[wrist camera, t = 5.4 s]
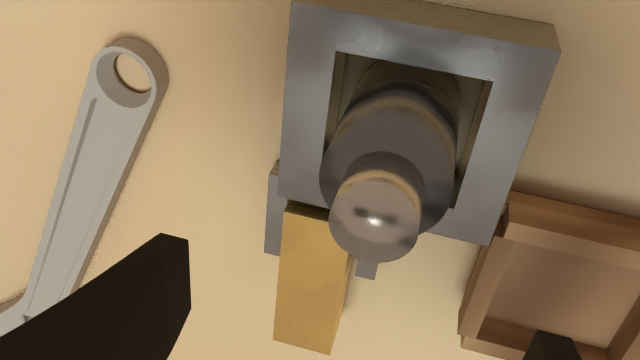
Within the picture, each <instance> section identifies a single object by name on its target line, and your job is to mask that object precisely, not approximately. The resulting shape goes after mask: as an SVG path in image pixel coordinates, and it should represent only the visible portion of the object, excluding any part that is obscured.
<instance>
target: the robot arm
mask: <svg viewBox="0 0 640 360" xmlns="http://www.w3.org/2000/svg"><path fill="white" fill-rule="evenodd" d="M190 310H191V292H190V269H189V246H188V240H187V239H183V238H179V237H175V236H171V235H167V234H163V233H160V234H158V235H156V236H155V237H154V238H152V239H151V240H149V241H148V242H146V243H145V244H143V245H142V246H140V247H139V248H138V249H136V250H135V251H133V252H132V253H130V254H129V255H128V256H126V257H125V258H123V259H122V260H121V261H119V262H118V263H116V264H115V265H113V266H112V267H110V268H109V269H108V270H106V271H105V272H103V273H102V274H100V275H99V276H97V277H96V278H94V279H93V280H91V281H90V282H88V283H87V284H85V285H84V286H82V287H81V288H79V289H78V290H76V291H75V292H73V293H72V294H70V295H69V296H67V297H66V298H64V299H63V300H61V301H59V302H58V303H56V304H55V305H53V306H51V307H50V308H48V309H46V310H45V311H43V312H41V313H40V314H38V315H36V316H35V317H33V318H31V319H30V320H28V321H27V322H25V323H23V324H22V325H20V326H18V327H16V328H15V329H13V330H11V331H9V332H8V333H6V334H4V335H2V336H1V337H0V360H167V358H168V356H169V355H170V353H171V351H172V349H173V347H174V345H175V343H176V341H177V338H178V336H179V334H180V332H181V330H182V328H183V325H184V323H185V321H186V319H187V317H188V314H189V312H190ZM522 360H582V358H581V356H580V354H579V352H578V349H577V347H576V345H575V343H574V342H573V340H572V339H571V338H570V337H566V336H562V335H558V334H554V333H550V332H546V331H542V330H538V329H537V331H536V333H535V335H534V337H533V339H532V341H531V343H530V345H529V347H528V349H527V351H526V353H525V355H524V357H523V359H522Z"/></svg>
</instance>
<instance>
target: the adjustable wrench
mask: <svg viewBox="0 0 640 360" xmlns="http://www.w3.org/2000/svg"><path fill="white" fill-rule="evenodd" d="M121 53H125V54H127V55H129V56H132V57H133V58H134V59H136V60H137V61H138V62H139V63H140V64H141V65H142V66H143V67H144V69H145V70H146V71H147V74H148V76H149V78H150V81H151V89H150V90H149V91H147V92H146V93H137V92H135V91H132V90H130V89H129V88H128V87H126V86H125V85H124V84H123V83H122V82H121V80H120V79H119V78H118V76H117V73H116V71H115V66H114V61H115V58H116V57H117V56H118V55H119V54H121ZM168 81H169V79H168V71H167V68H166V66H165V63H164V61H163V59H162V58H161V57H160V55H159V54H158V53H157V51H156V50H155V49H153V48H152V47H151V46H150V45H148V44H147V43H145V42H143V41H141V40H139V39H136V38H128V37H126V38H121V39H117V40H116V41H114V42H113V43H111V44H109V45H108V46H106V47H105V48H103V49H102V50H100V51H99V52H98V53H96V55H95V57H94V59H93V61H92V63H91V67H90V70H89V74H88V77H87V80H86V84H85V87H84V91H83V94H82V98H81V101H80V105H79V108H78V112H77V115H76V118H75V122H74V125H73V129H72V132H71V136H70V139H69V143H68V146H67V150H66V153H65V157H64V160H63V163H62V167H61V170H60V174H59V177H58V181H57V184H56V188H55V191H54V195H53V198H52V202H51V205H50V208H49V212H48V215H47V219H46V222H45V226H44V229H43V233H42V236H41V240H40V243H39V246H38V250H37V253H36V257H35V260H34V264H33V267H32V271H31V274H30V278H29V281H28V285H27V288H26V291H25V293H23V294H22V295H20V296H18V297H17V298H15V299H13V300H11V301H8V302H6V303H3V304H1V305H0V337H1V336H2V335H4V334H6V333H8V332H9V331H11V330H13V329H15V328H16V327H18V326H20V325H22V324H23V323H25V322H27V321H28V320H30V319H31V318H33V317H35V316H36V315H38V314H40V313H41V312H43V311H45V310H46V309H48V308H50V307H51V306H53V305H55V304H56V303H58V302H59V301H61V300H63V299H64V298H66V297H67V296H69V295H70V294H72V293H73V292H75V291H76V290H78V288H79V285H80V283H81V281H82V279H83V276H84V274H85V272H86V270H87V268H88V265H89V263H90V261H91V259H92V256H93V254H94V252H95V250H96V247H97V245H98V243H99V241H100V238H101V236H102V234H103V232H104V229H105V227H106V225H107V223H108V220H109V218H110V216H111V214H112V211H113V209H114V207H115V205H116V202H117V200H118V198H119V196H120V193H121V191H122V189H123V187H124V184H125V182H126V180H127V178H128V175H129V173H130V171H131V169H132V166H133V164H134V162H135V160H136V157H137V155H138V153H139V151H140V148H141V146H142V144H143V142H144V139H145V137H146V135H147V133H148V130H149V128H150V126H151V124H152V121H153V119H154V117H155V115H156V112H157V110H158V108H159V106H160V103H161V101H162V99H163V97H164V94H165V92H166V90H167V86H168Z"/></svg>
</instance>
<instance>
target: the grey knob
mask: <svg viewBox="0 0 640 360" xmlns="http://www.w3.org/2000/svg"><path fill="white" fill-rule="evenodd" d="M460 107H461V99H460V93H459V89H458V86H457V84H456V82H455V80H454V78H453V77H452V75H451V74H450V73H447V72H442V71H437V70H432V69H427V68H421V67H416V66H411V65H406V64H401V63H396V62H391V61H386V60H379V61H377V62H376V63H374V64H373V65H372V66H370V67H369V68H368V69H367V70H366V72H365V73H364V74H363V76H362V77H361V79H360V81H359V83H358V85H357V87H356V90H355V92H354V94H353V96H352V98H351V100H350V102H349V104H348V106H347V109H346V111H345V113H344V115H343V117H342V119H341V121H340V123H339V126H338V128H337V130H336V132H335V134H334V136H333V138H332V140H331V143H330V145H329V147H328V149H327V151H326V153H325V155H324V157H323V160H322V163H321V165H320V170H319V186H320V190H321V194H322V196H323V199H324V201H325V202H326V204H327V206H328V207H329V209H330V210H331V211H330V213H329V219H328V223H329V229H330V232H331V235H332V237H333V238H334V240H335V241H336V243H337V244H338V245H339V246H340V247H341V248H342V249H343V250H345V251H346V252H347V253H349V254H350V255H352V256H354V257H356V258H359V259H362V260H365V261H370V262H389V261H393V260H396V259H399V258H401V257H403V256H404V255H406V254H407V253H408V252H409V251H410V250H411V249H412V248H413V247H414V245H415V243H416V241H417V237H418V235H419V234H422V233H424V232H426V231H428V230H429V229H430V228H432V227H433V226H435V225H436V224H437V223H438V222H439V221H440V220H441V219H442V217H443V216H444V215H445V213H446V211H447V210H448V208H449V205H450V202H451V198H452V191H453V181H454V170H455V160H456V149H457V139H458V128H459V118H460Z"/></svg>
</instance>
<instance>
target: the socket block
mask: <svg viewBox="0 0 640 360" xmlns="http://www.w3.org/2000/svg"><path fill="white" fill-rule="evenodd" d="M347 53H350V54H355V55H360V56H365V57H371V58H376V59H381V60H386V61H391V62H396V63H401V64H406V65H411V66H416V67H421V68H427V69H432V70H437V71H442V72H447V73H452V74H457V75H462V76H467V77H472V78H477V79H483V80H485V83H484V86H483V89H482V93H481V96H480V99H479V103H478V106H477V109H476V113H475V116H474V119H473V123H472V126H471V129H470V133H469V136H468V139H467V143H466V146H465V149H464V153H463V156H462V160H461V163H460V166H459V170H458V173H454V181H453V191H452V198H451V202H450V205H449V208H448V210H447V211H446V213H445V215H444V216H443V217H442V219H441V220H440V221H439V222H438V223H437V224H436V225H435V226H433V227H432V228H430V229H429V230H428V231H426V232H428V233H433V234H437V235H441V236H445V237H449V238H454V239H458V240H462V241H466V242H470V243H475V244H479V245H483V246H487V247H489V244H490V241H491V239H492V236H493V233H494V231H495V228H496V225H497V223H498V220H499V217H500V215H501V212H502V209H503V207H504V204H505V201H506V199H507V196H508V193H509V190H510V188H511V185H512V182H513V180H514V177H515V174H516V172H517V169H518V166H519V164H520V161H521V158H522V156H523V153H524V150H525V148H526V145H527V142H528V140H529V137H530V134H531V131H532V129H533V126H534V123H535V121H536V118H537V115H538V113H539V110H540V107H541V105H542V102H543V99H544V97H545V94H546V91H547V89H548V86H549V83H550V81H551V78H552V75H553V73H554V70H555V67H556V64H557V62H558V59H559V56H560V54H561V48H560V45H559V41H558V38H557V35H556V31H555V28H554V25H551V24H545V23H540V22H534V21H528V20H523V19H517V18H512V17H506V16H501V15H495V14H489V13H484V12H478V11H473V10H467V9H462V8H456V7H450V6H445V5H439V4H434V3H428V2H423V1H417V0H292V1H291V12H290V25H289V39H288V52H287V66H286V79H285V93H284V107H283V120H282V134H281V147H280V161H276V163H275V165H274V166H273V168H272V170H271V171H270V173H269V180H268V197H267V213H266V229H265V245H264V253H268V254H272V255H276V256H280V250H281V238H282V226H283V215H284V210H285V208H286V206H287V204H288V202H289V200H294V201H298V202H303V203H307V204H311V205H315V206H319V207H324V208H328V209H329V207H328V206H327V204H326V202H325V201H324V199H323V196H322V194H321V190H320V186H319V170H320V165H321V163H322V160H323V157H324V155H325V153H326V151H327V149H328V147H329V145H330V143H331V140H332V138H333V136H334V134H335V132H336V128H337V120H338V113H339V106H340V99H341V92H342V84H343V77H344V70H345V63H346V56H347ZM378 263H379V262H370V261H365V260H362V259H359V258H358V263H357V268H356V273H355V276H359V277H363V278H367V279H370V280H374V279H375V275H376V271H377V267H378Z"/></svg>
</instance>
